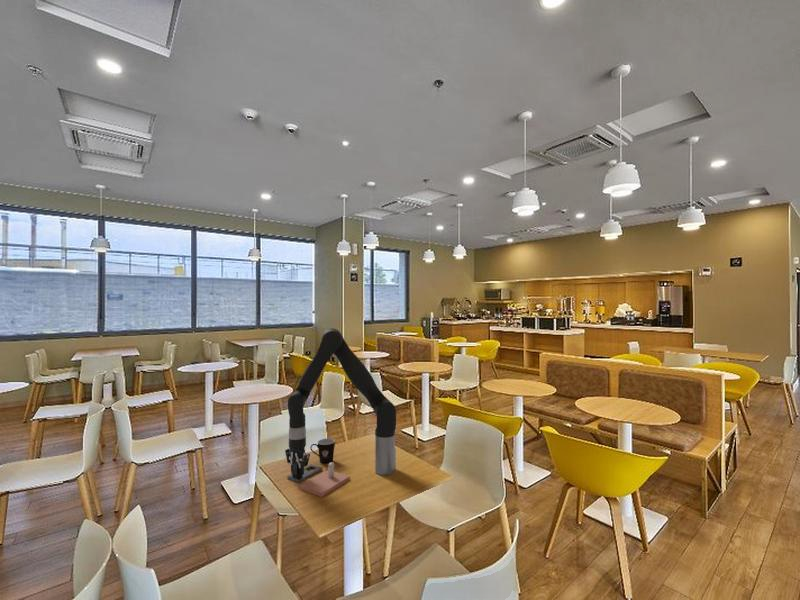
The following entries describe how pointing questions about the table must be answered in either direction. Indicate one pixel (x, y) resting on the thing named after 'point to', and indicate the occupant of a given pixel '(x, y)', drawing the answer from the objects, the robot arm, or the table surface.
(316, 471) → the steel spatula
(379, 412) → the robot arm
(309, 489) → the pink board with peg
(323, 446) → the coffee mug
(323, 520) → the table surface
